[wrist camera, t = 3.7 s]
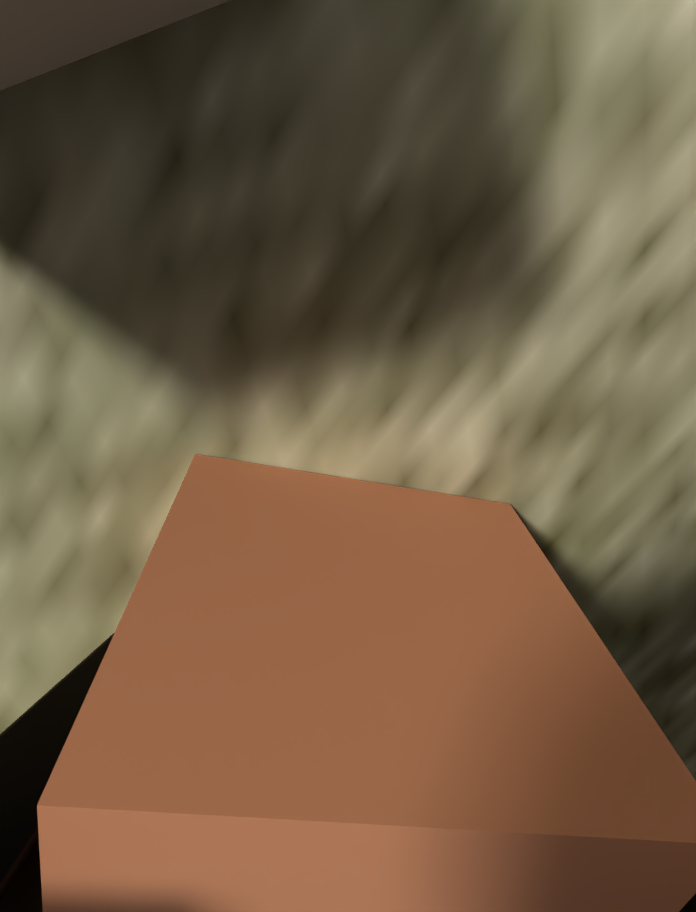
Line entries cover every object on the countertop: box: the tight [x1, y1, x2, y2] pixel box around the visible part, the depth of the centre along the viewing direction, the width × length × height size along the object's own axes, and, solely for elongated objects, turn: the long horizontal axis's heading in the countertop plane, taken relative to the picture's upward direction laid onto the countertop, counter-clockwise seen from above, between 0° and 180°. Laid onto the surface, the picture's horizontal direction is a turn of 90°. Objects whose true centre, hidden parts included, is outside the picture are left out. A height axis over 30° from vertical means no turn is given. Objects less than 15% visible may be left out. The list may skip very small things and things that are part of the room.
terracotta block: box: [37, 454, 696, 912], centre depth 8 cm, size 6×6×6 cm
